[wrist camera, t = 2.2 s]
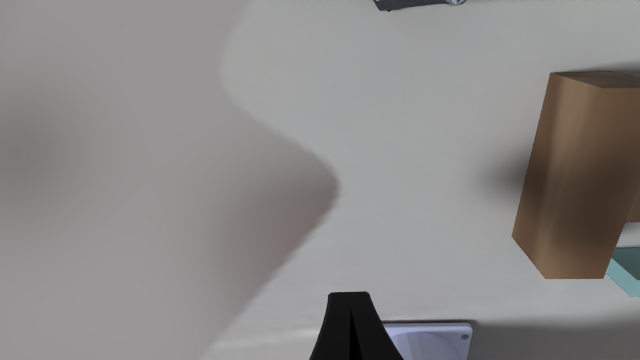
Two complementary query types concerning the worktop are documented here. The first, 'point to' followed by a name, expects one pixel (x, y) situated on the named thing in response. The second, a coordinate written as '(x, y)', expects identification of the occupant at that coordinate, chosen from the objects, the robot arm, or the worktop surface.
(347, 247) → the worktop surface
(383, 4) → the small box
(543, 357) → the worktop surface
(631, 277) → the jig
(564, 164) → the t block
